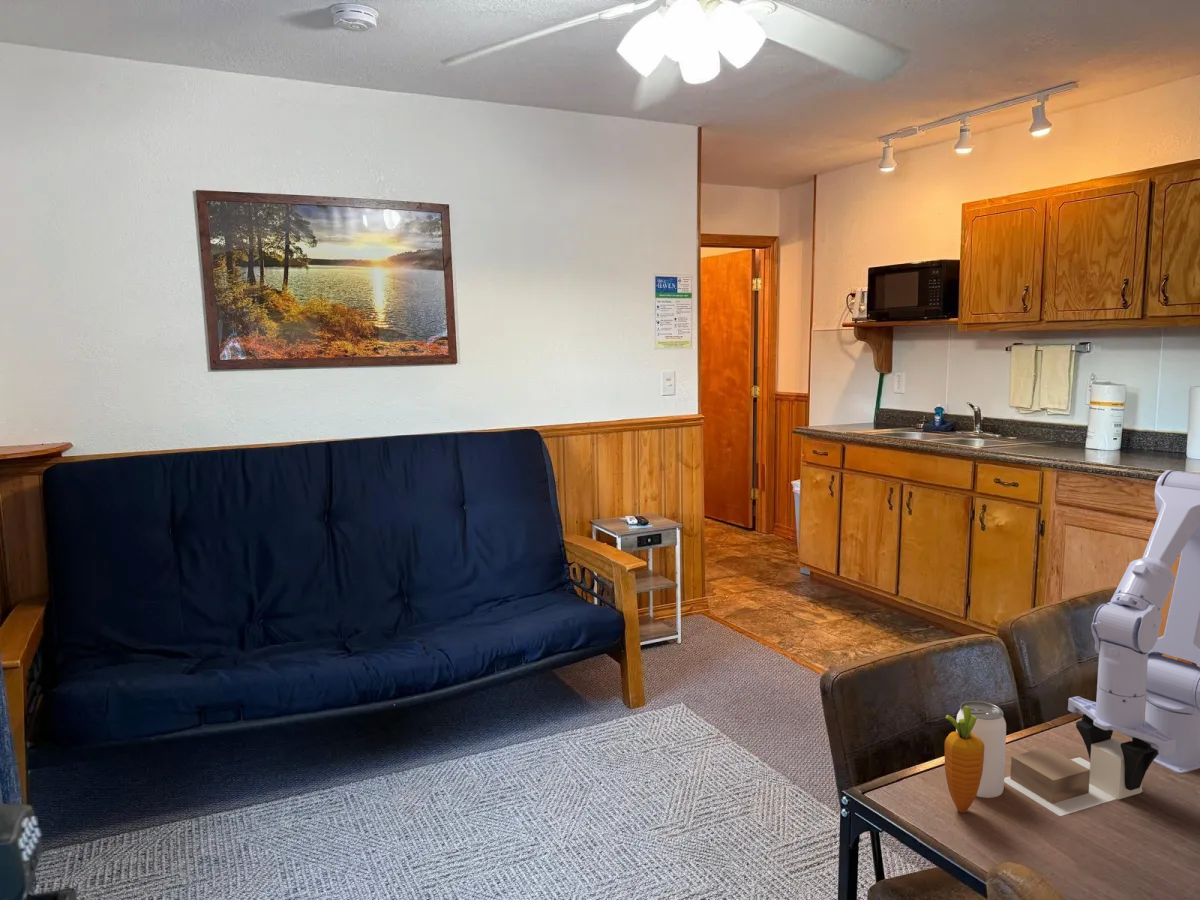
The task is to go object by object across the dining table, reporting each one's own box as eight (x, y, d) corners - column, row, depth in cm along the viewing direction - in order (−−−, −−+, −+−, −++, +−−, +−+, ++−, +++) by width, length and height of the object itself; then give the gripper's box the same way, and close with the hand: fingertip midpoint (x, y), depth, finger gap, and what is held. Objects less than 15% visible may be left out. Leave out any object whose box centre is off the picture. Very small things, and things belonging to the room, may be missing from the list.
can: (1009, 802, 112) (1012, 721, 110) (960, 798, 113) (962, 718, 111) (996, 777, 118) (999, 701, 116) (949, 774, 119) (952, 698, 118)
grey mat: (1079, 759, 122) (1079, 757, 122) (1143, 793, 113) (1143, 790, 113) (999, 781, 117) (999, 779, 117) (1059, 818, 108) (1059, 816, 107)
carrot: (965, 828, 106) (969, 722, 104) (934, 809, 110) (937, 707, 108) (990, 817, 108) (994, 713, 106) (958, 799, 113) (962, 699, 111)
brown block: (1045, 768, 119) (1047, 746, 119) (1088, 792, 113) (1090, 769, 112) (1010, 778, 117) (1011, 756, 116) (1051, 803, 110) (1053, 780, 110)
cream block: (1111, 776, 117) (1113, 738, 116) (1141, 792, 112) (1144, 752, 112) (1088, 783, 115) (1091, 744, 114) (1118, 799, 111) (1121, 759, 110)
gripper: (1054, 673, 117) (1050, 759, 119) (1152, 715, 104) (1145, 812, 105) (1089, 665, 119) (1084, 750, 121) (1189, 705, 106) (1182, 800, 108)
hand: (1115, 778), depth 114 cm, fingers closed on cream block, 4 cm apart
